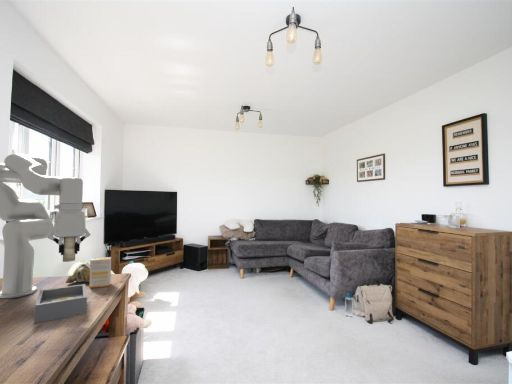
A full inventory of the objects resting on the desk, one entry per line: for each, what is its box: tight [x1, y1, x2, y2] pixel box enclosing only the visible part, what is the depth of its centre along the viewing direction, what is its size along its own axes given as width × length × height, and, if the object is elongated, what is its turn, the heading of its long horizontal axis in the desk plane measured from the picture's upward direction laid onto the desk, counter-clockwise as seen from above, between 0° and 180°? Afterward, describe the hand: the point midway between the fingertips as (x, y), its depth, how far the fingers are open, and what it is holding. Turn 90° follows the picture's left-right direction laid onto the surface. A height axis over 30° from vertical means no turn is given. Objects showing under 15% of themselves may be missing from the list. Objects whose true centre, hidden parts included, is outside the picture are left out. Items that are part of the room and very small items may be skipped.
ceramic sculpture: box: [65, 262, 90, 284], centre depth 128 cm, size 11×9×15 cm
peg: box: [62, 237, 77, 263], centre depth 102 cm, size 4×4×10 cm
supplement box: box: [88, 256, 112, 289], centre depth 122 cm, size 8×5×13 cm, turn 110°
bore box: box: [33, 283, 88, 324], centre depth 96 cm, size 16×14×6 cm
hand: (69, 253), depth 102 cm, fingers closed on peg, 4 cm apart
